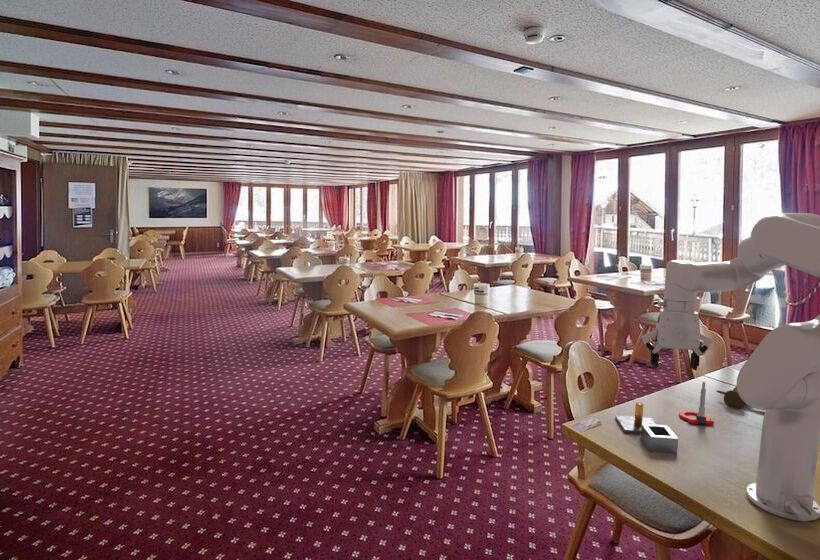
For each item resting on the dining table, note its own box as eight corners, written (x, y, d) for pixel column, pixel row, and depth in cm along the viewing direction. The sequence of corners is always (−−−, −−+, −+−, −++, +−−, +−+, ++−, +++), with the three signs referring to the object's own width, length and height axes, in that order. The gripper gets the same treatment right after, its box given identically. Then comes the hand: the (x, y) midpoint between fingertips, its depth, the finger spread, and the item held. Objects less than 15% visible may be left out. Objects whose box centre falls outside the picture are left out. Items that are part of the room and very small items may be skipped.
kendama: (784, 424, 144) (710, 402, 159) (792, 416, 150) (719, 396, 165) (788, 405, 143) (712, 385, 158) (795, 398, 149) (722, 379, 164)
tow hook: (674, 413, 151) (686, 424, 142) (677, 373, 150) (689, 381, 141) (703, 415, 150) (717, 426, 141) (706, 374, 149) (720, 383, 140)
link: (677, 453, 125) (678, 438, 124) (650, 451, 126) (651, 436, 125) (665, 439, 132) (667, 425, 132) (640, 437, 134) (641, 423, 133)
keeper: (662, 435, 134) (664, 411, 134) (624, 433, 136) (626, 409, 135) (650, 420, 144) (652, 398, 143) (615, 418, 146) (616, 396, 145)
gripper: (648, 307, 127) (643, 369, 129) (720, 310, 124) (714, 374, 126) (640, 302, 134) (636, 361, 137) (708, 304, 131) (703, 365, 133)
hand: (673, 367), depth 131 cm, fingers open, 9 cm apart
